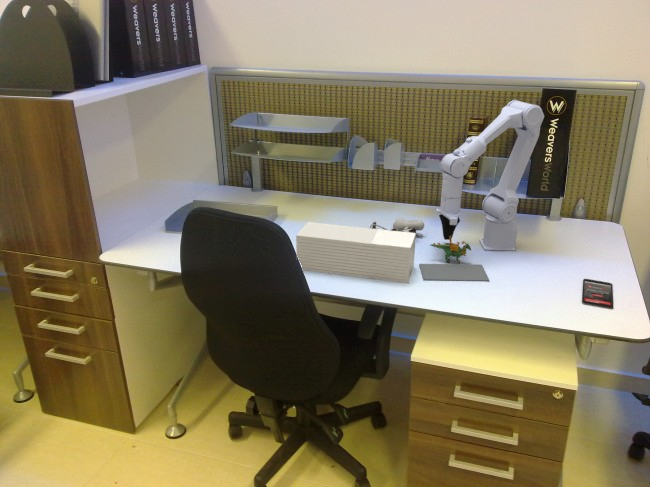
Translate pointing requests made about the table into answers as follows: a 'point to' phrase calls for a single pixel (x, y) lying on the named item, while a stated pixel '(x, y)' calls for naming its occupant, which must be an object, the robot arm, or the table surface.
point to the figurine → (453, 249)
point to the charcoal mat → (453, 272)
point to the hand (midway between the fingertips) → (447, 238)
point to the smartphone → (597, 294)
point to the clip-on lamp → (404, 225)
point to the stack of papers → (356, 251)
